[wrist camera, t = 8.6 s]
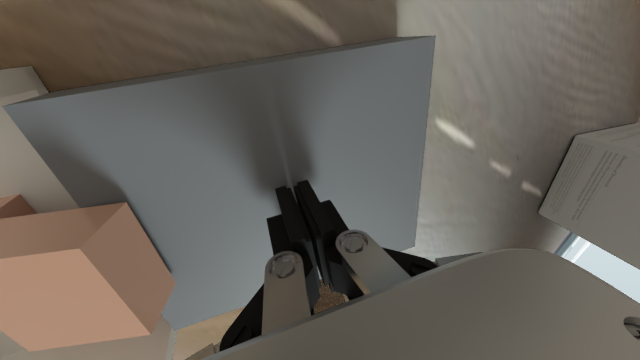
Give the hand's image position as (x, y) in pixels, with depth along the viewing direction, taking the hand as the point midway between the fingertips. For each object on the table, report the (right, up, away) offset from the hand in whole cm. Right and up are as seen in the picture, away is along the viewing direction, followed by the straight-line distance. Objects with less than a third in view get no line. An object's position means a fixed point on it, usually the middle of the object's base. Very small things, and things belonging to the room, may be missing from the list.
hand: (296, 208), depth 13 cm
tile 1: (-9, -2, -1) cm, 9 cm away
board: (-1, +2, +3) cm, 4 cm away
